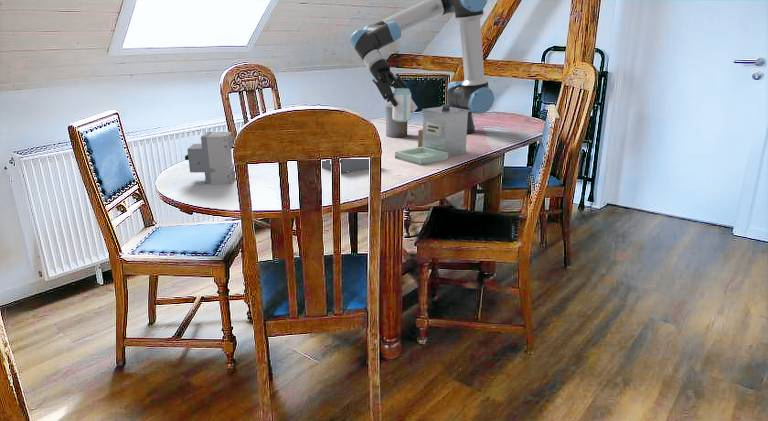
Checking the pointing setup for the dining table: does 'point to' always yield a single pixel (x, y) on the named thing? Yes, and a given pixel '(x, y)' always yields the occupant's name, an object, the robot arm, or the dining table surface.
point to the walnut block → (420, 138)
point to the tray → (421, 155)
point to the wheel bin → (348, 164)
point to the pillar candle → (394, 124)
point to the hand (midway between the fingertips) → (408, 111)
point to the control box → (445, 129)
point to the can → (405, 101)
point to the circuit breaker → (213, 157)
